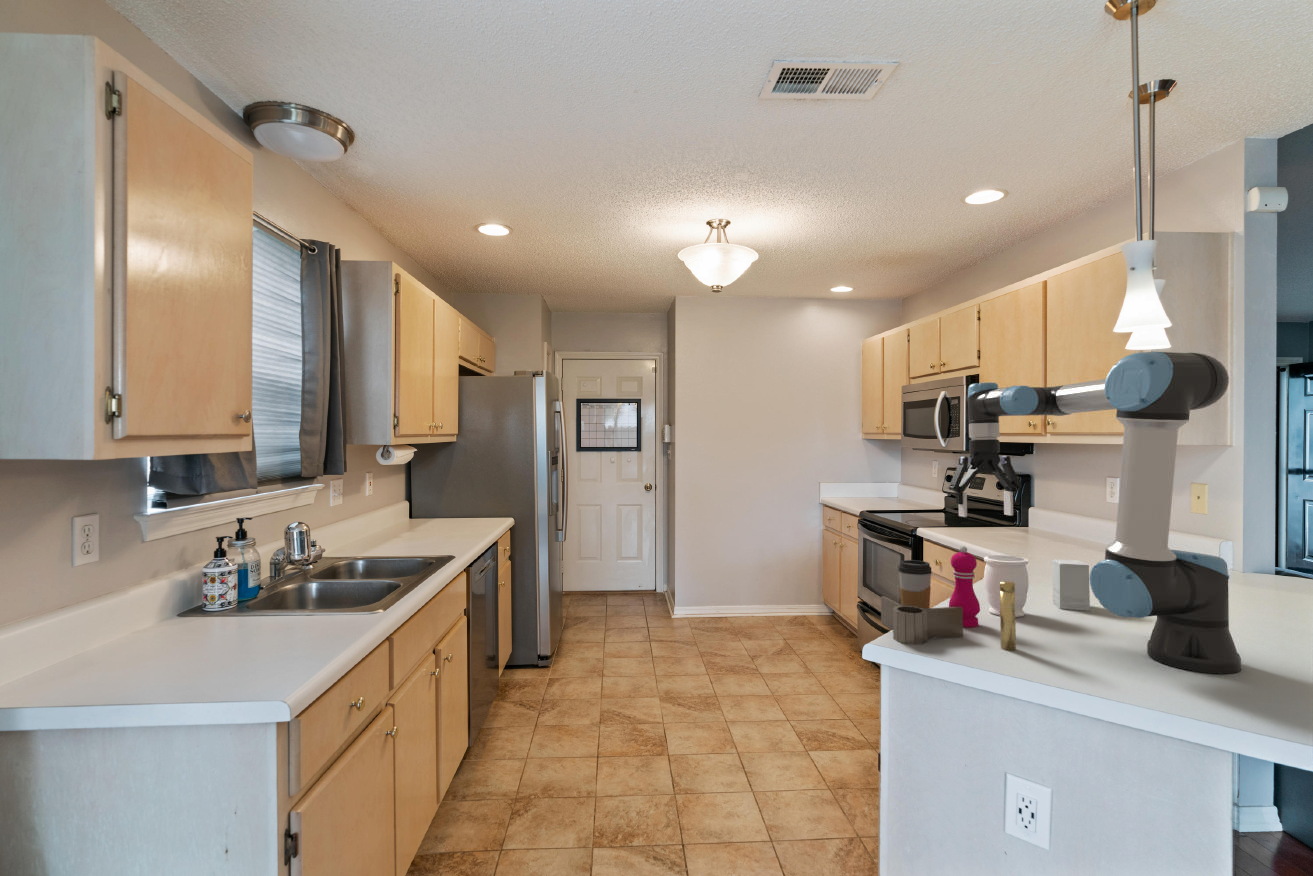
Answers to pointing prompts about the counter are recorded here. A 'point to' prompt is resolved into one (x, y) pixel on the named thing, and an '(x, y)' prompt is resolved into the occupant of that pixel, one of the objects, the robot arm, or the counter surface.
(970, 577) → the pepper mill
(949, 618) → the hinge
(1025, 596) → the jar
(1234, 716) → the counter surface
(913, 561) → the coffee cup
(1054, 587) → the supplement box
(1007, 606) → the gold metal bar
